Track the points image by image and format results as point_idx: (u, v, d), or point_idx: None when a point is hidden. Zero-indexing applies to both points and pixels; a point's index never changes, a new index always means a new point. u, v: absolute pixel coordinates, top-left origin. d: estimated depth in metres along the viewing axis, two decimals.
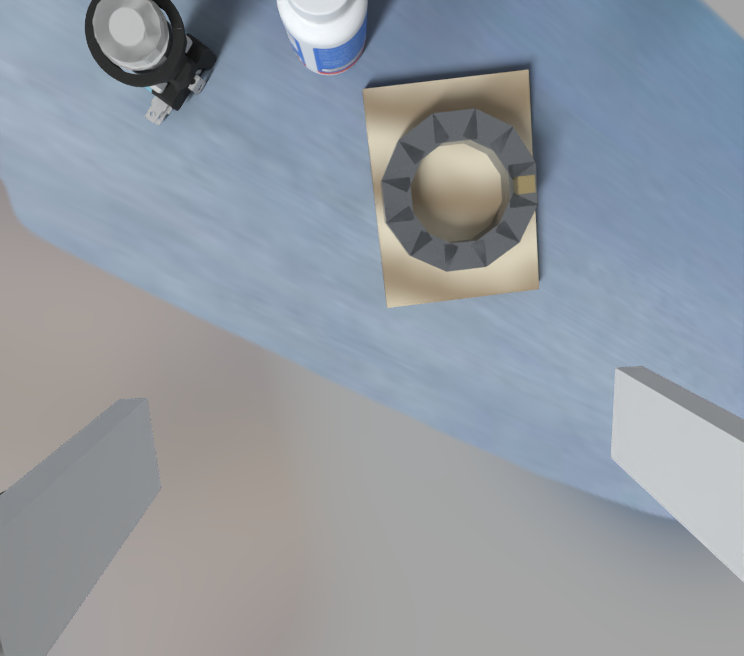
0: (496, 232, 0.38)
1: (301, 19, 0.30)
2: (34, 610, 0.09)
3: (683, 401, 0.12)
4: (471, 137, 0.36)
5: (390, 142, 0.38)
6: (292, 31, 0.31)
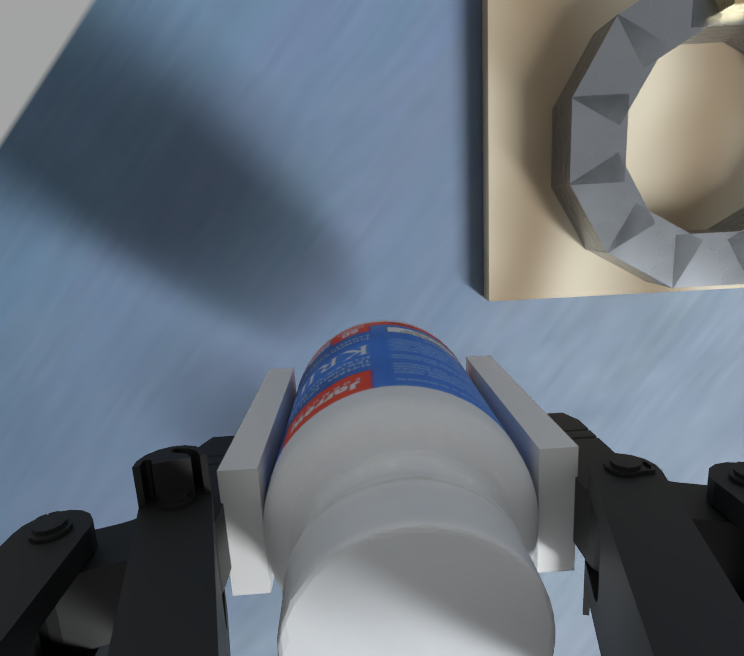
0: None
1: None
2: None
3: (496, 383, 0.14)
4: (625, 106, 0.18)
5: (581, 258, 0.21)
6: None
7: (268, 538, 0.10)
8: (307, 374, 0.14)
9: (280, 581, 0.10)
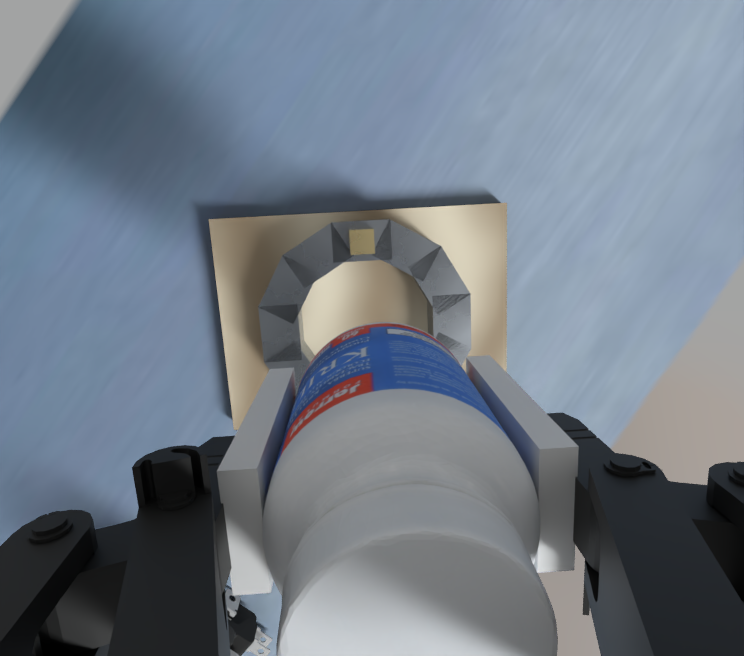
0: (424, 279, 0.27)
1: None
2: None
3: (496, 383, 0.14)
4: (295, 312, 0.27)
5: None
6: None
7: (267, 543, 0.09)
8: (307, 376, 0.14)
9: (279, 586, 0.10)
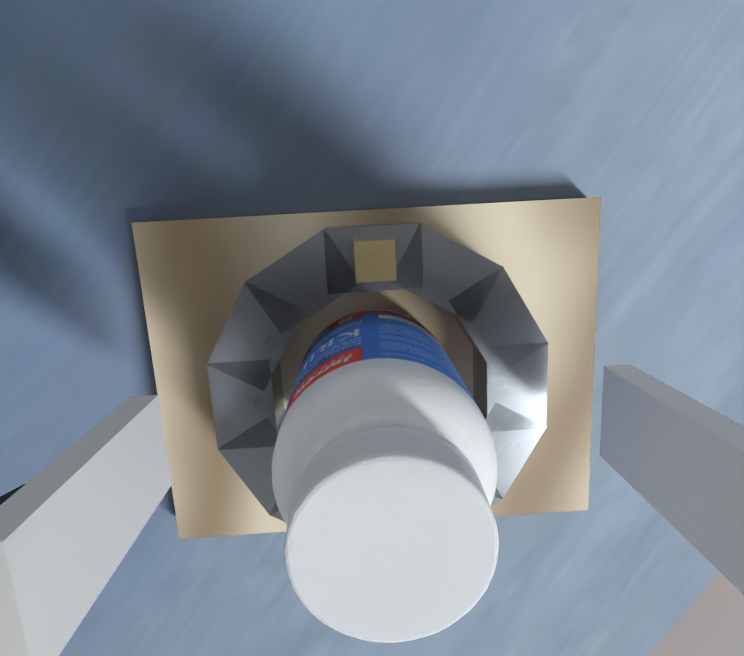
0: (474, 319, 0.17)
1: None
2: (55, 601, 0.09)
3: (668, 399, 0.12)
4: (266, 373, 0.17)
5: None
6: None
7: (276, 480, 0.12)
8: (308, 354, 0.16)
9: (285, 516, 0.12)
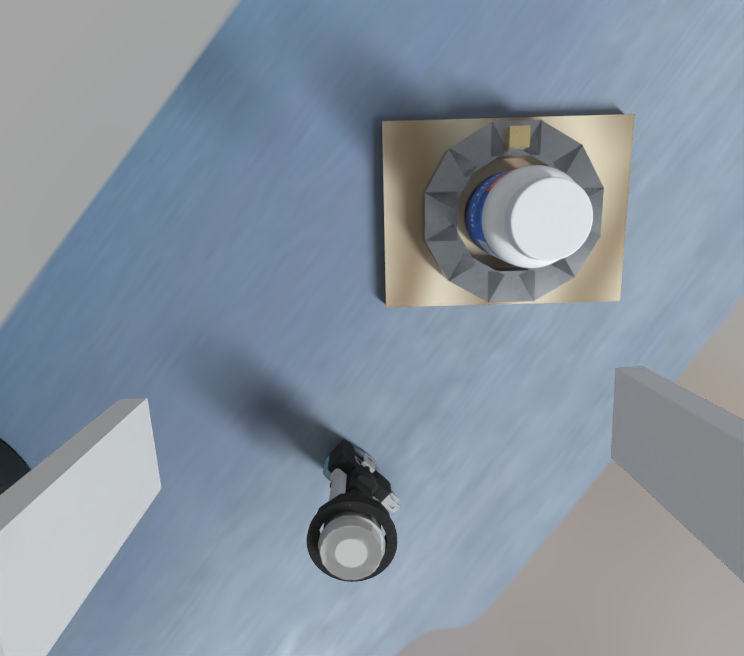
0: (565, 173, 0.32)
1: None
2: (34, 610, 0.09)
3: (683, 401, 0.12)
4: (455, 198, 0.32)
5: (441, 282, 0.35)
6: None
7: (489, 214, 0.27)
8: (478, 188, 0.32)
9: (492, 231, 0.27)
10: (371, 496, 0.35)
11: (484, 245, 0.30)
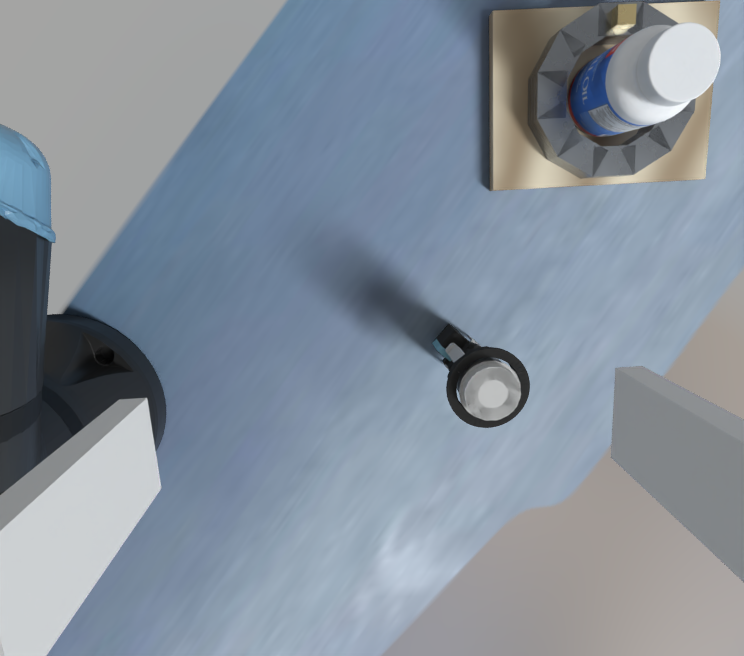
0: None
1: None
2: (34, 610, 0.09)
3: (683, 401, 0.12)
4: (565, 77, 0.35)
5: (544, 165, 0.38)
6: (683, 108, 0.31)
7: (617, 71, 0.30)
8: (586, 66, 0.35)
9: (619, 86, 0.30)
10: None
11: (600, 112, 0.33)
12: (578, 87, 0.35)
